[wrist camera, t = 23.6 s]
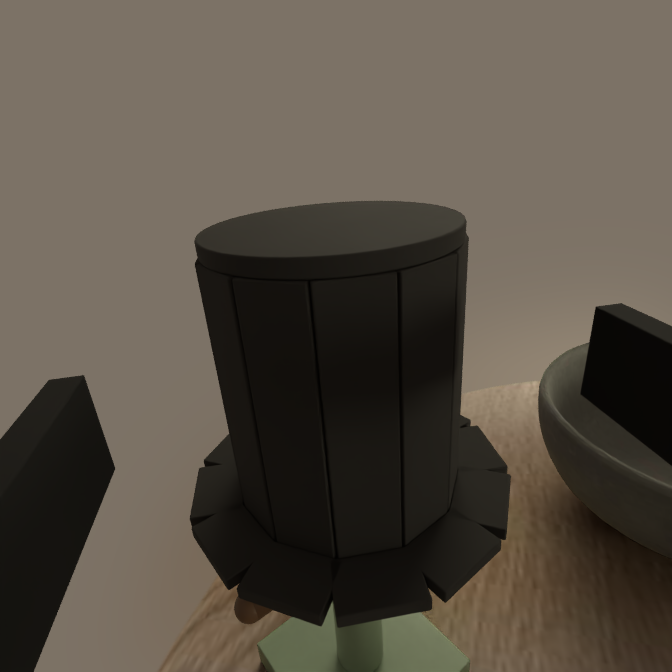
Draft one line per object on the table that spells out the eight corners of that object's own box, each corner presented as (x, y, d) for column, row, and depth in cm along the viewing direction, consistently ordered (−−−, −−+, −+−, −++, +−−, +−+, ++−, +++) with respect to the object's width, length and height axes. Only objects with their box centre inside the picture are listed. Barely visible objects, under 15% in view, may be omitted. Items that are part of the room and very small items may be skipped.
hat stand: (319, 848, 19) (224, 323, 9) (231, 683, 25) (115, 258, 15) (489, 654, 25) (539, 223, 15) (386, 559, 31) (376, 204, 21)
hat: (316, 727, 11) (254, 337, 7) (150, 471, 20) (78, 235, 16) (573, 481, 18) (623, 206, 14) (362, 372, 27) (351, 187, 23)
